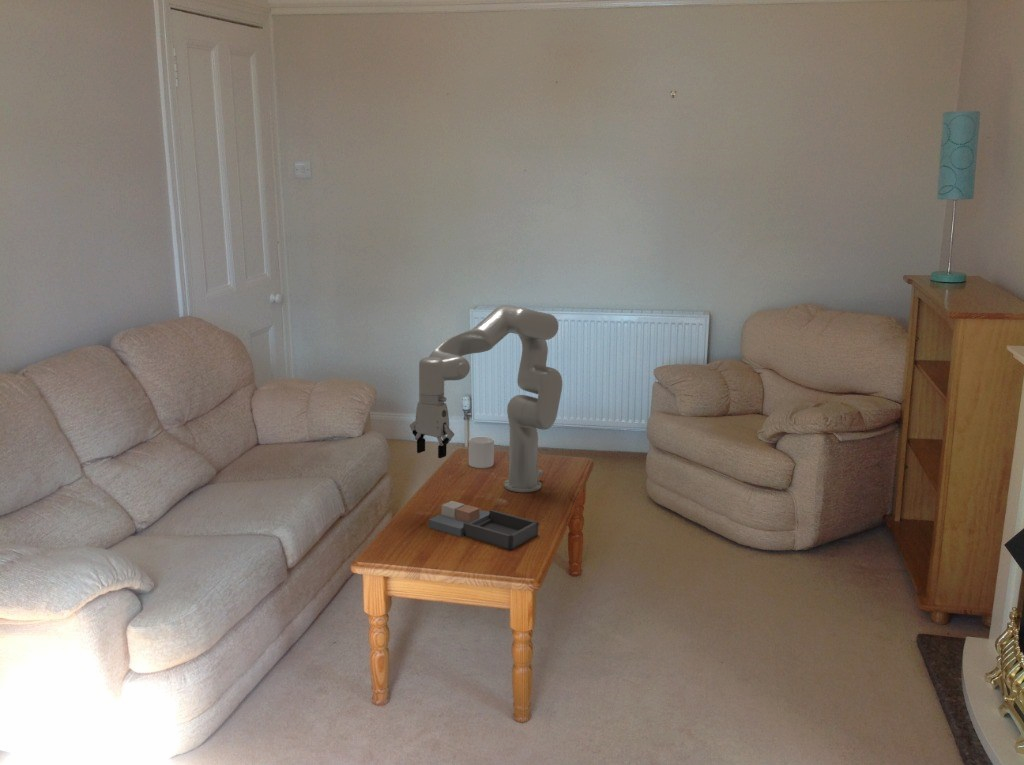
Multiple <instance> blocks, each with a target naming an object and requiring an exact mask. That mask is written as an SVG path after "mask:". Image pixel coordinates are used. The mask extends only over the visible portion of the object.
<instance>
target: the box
mask: <svg viewBox="0 0 1024 765" xmlns="http://www.w3.org/2000/svg"><path fill="white" fill-rule="evenodd" d="M488 512H489V519H488V520H486V521H484V522H481V523H479V524H477V525H474V524H470V523H467V522H465V523H463V536H462V537H465V538H469V539H472V540H476V541H478V542H482V543H486V544H489V545H493V546H495V547H499V548H502V549H505V550H510V551H512V550H513V549H516V548H518V547H519V546H521V545H523V544H524V543H526V542H528V541H530V540H532V539H533V538H536V537H537V536H539V521H536V520H531V519H527V518H524V517H520V516H517V515H512V514H509V513H505V512H502V511H498V510H494V509H489V511H488Z"/></svg>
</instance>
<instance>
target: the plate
mask: <svg viewBox="0 0 1024 765" xmlns="http://www.w3.org/2000/svg"><path fill="white" fill-rule="evenodd" d="M488 519H489V511H487V510H482V509H479V518H478V519H476V520H474V521H472V522H467V523H470V524H474V525H477V524H479V523H481V522H484V521H486V520H488ZM465 522H466V521H462V520H459V519H456V518H452V517H448V516H445V515H441V513H440V514H437V515H436V516H433V517H430V518H429V519H428V528H429V529H433V530H436V531H441V532H443V533H447V534H450V535H453V536H456V537H464V536H463V523H465Z"/></svg>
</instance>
